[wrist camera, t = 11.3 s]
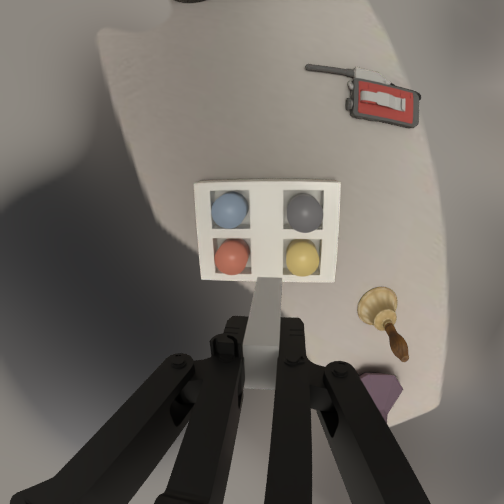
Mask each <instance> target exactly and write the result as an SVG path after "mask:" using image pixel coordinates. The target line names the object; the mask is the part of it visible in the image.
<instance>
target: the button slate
mask: <svg viewBox="0 0 504 504" xmlns="http://www.w3.org/2000/svg"><path fill="white" fill-rule="evenodd" d="M247 212H248V202H247V200H246V198H245V197H244V196H243V195H242V194H240V193H238V192H227V193H225V194H223V195H222V196H220V197H219V198H218V199H216V200H215V202H214V203H213V205H212V209H211V214H212V218H213V220H214V221H215V223H216V224H217V225H219V226H220V227H223V228H226V229H231V228H235V227H237V226H238V225H240V224H241V223H242V221H243V219H244V218H245V216H246V215H247Z"/></svg>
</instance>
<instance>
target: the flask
mask: <svg viewBox="0 0 504 504" xmlns="http://www.w3.org/2000/svg"><path fill="white" fill-rule="evenodd" d="M359 377H360V379H361V381H362V382H363V384H364V386H365V387H366V389H367V391H368V392H369V394H370V396H371V397H372V399H373V401H374V403H375V404H376V406H377V408H378V409H379V411H380V413H381V415H382V416H383V418H384V420H385V422H386V423H387V414H388V413H389V411H390V409H391V408H392V406H393V405H394V403H395V402H396V400H397V399H398V397H399V395H400V394H401V392H402V390H403V388H402V386H401V385H400V383H399V381H398V380H397V378H396V377H395V375H389V374H383V373H366V372H365V373H364V374H362V375H360V376H359Z"/></svg>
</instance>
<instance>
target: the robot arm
mask: <svg viewBox="0 0 504 504" xmlns="http://www.w3.org/2000/svg"><path fill="white" fill-rule="evenodd" d="M175 1H179V2H187V3H191V2H200V1H204V0H175ZM281 295H282V278H277V277H257V281H256V286H255V291H254V295H253V300H252V304H251V309H250V313H249V317H245V316H232V317H231V318H230V319H229V320H228V321H227V324H226V327H225V329H224V333H223V334H219V335H216V336H214V337H213V338H212V339H211V340H210V347H211V355H212V356H211V357H210V358H207V359H204V360H196V361H193V359H192V358H191V356H189V355H187V354H183V353H178V354H173V355H171V356H169V357H168V358H166V359H165V361H164V362H163V363H162V364H161V365H160V366H159V367H158V368H157V369H156V370H155V371H154V372H153V373H152V374H151V376H150V377H149V378H148V379H147V380H146V381H145V382H144V383H143V384H142V385H141V386H140V387H139V388H138V389H137V391H135V393H134V394H133V395H132V396H131V397H130V398H129V399H128V400H127V401H126V402H125V403H124V404H123V405H122V406H121V407H120V408H119V409H118V411H117V412H116V413H115V414H114V415H113V416H112V417H111V418H110V419H109V420H108V421H107V422H106V423H105V424H104V425H103V426H102V427H101V428H100V430H99V431H98V432H97V433H96V434H95V435H94V436H93V437H92V438H91V439H90V440H89V441H88V442H87V443H86V444H85V445H84V446H83V447H82V448H81V449H80V450H79V451H78V453H77V454H76V455H75V456H74V457H73V458H72V459H71V460H70V461H69V462H68V463H67V464H66V465H65V466H64V467H63V468H62V469H61V470H60V471H59V472H58V473H57V474H56V475H55V476H54V477H53V478H51V479H49V480H47V481H44V482H42V483H40V484H37V485H35V486H32V487H30V488H28V489H25V490H23V491H20V492H18V493H16V494H15V495H13V496H12V498H11V500H10V504H128V503H129V501H130V500H131V499H132V497H133V496H134V495H135V494H136V492H137V491H138V490H139V488H140V487H141V486H142V484H143V483H144V482H145V481H146V479H147V478H148V477H149V475H150V474H151V472H152V471H153V470H154V469H155V467H156V466H157V464H158V463H159V462H160V460H161V459H162V457H163V456H164V455H165V454H166V452H167V451H168V449H169V448H170V447H171V445H172V444H173V442H174V441H175V440H176V438H177V437H178V436H179V434H180V433H181V431H182V430H183V428H184V427H185V425H186V424H187V423H188V421H189V423H188V426H187V429H186V432H185V435H184V438H183V441H182V443H181V446H180V449H179V453H178V455H177V458H176V461H175V464H174V467H173V470H172V473H171V476H170V479H169V482H168V485H167V488H166V490H165V492H164V493H163V494H161V495H159V496H158V497H157V498H156V500H155V503H154V504H223V500H224V496H225V490H226V485H227V481H228V475H229V470H230V465H231V460H232V455H233V450H234V445H235V439H236V434H237V428H238V423H239V417H240V413H241V407H242V402H243V387H244V386H245V388H251V389H268V390H275V398H274V410H273V422H272V433H271V444H270V454H269V464H268V474H267V483H266V492H265V501H264V504H312V437H311V408H312V409H316V410H317V414H318V417H319V419H320V422H321V425H322V427H323V430H324V432H325V435H326V438H327V440H328V443H329V445H330V448H331V450H332V453H333V456H334V458H335V461H336V463H337V466H338V469H339V471H340V474H341V476H342V479H343V481H344V484H345V487H346V489H347V492H348V494H349V497H350V500H351V502H352V504H430V501H429V500H428V498H427V496H426V494H425V492H424V490H423V488H422V486H421V484H420V483H419V481H418V479H417V477H416V475H415V474H414V472H413V470H412V468H411V466H410V464H409V462H408V461H407V459H406V457H405V455H404V454H403V452H402V450H401V448H400V446H399V445H398V443H397V441H396V439H395V437H394V436H393V434H392V432H391V430H390V429H389V427H388V425H387V423H386V422H385V420H384V418H383V416H382V415H381V413H380V411H379V409H378V408H377V406H376V404H375V403H374V401H373V399H372V397H371V396H370V394H369V392H368V391H367V389H366V387H365V386H364V384H363V382H362V381H361V379H360V377H359V375H358V374H357V372H356V370H355V369H354V367H353V366H352V365H351V364H349V363H347V362H343V361H334V362H331V363H329V364H328V365H327V366H326V367H324V366H319V365H316V364H314V363H312V362H311V361H310V360H308V358H307V356H306V348H305V333H304V323H303V322H302V321H301V319H300V318H285V317H281Z"/></svg>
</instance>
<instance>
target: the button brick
mask: <svg viewBox="0 0 504 504" xmlns="http://www.w3.org/2000/svg"><path fill="white" fill-rule="evenodd" d="M249 254H250V250H249V247H248V245H247V243H246V242H245V241H244V240H242V239H240V238H228V239H226V240H225V241H224V242H223V243H222V244H221V246H220V247H219V249H218V250H217V252H216V254H215V258H214V260H215V264H216V266H217V268H218V269H219V270H220V271H221V272H222V273H224V274H227V275H237V274H239V273H241V272H242V271H243V270H244V268H245V266H246V264H247V261H248V258H249Z"/></svg>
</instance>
